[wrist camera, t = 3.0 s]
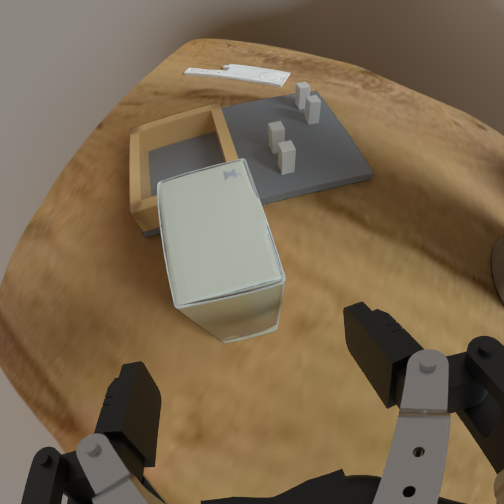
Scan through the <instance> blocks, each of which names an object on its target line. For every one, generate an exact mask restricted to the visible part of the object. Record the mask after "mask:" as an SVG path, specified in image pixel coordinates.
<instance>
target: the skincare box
mask: <svg viewBox="0 0 504 504" xmlns="http://www.w3.org/2000/svg"><path fill="white" fill-rule="evenodd" d="M157 200H158V215H159V224H160V231H161V239H162V246H163V253H164V259H165V264H166V270H167V275H168V279H169V285H170V289H171V294H172V298H173V303H174V306H175V308H176V309H178V310H179V311H180V312H182V313H183V314H184V315H186V316H187V317H188V318H190V319H191V320H192V321H194V322H195V323H197V324H198V325H199V326H201V327H202V328H203V329H205V330H206V331H208V332H209V333H210V334H212V335H213V336H215V337H216V338H217V339H219V340H220V341H222V342H223V343H229V342H234V341H239V340H243V339H247V338H251V337H256V336H259V335H263V334H266V333H270V332H273V331H276V330H277V328H278V322H279V316H280V310H281V304H282V297H283V291H284V285H285V274H284V271H283V268H282V265H281V261H280V258H279V255H278V252H277V249H276V246H275V243H274V240H273V236H272V233H271V231H270V228H269V224H268V221H267V218H266V215H265V213H264V210H263V207H262V204H261V201H260V198H259V196H258V193H257V190H256V187H255V184H254V182H253V179H252V176H251V173H250V171H249V168H248V165H247V162H246V160H245V159H243V158H242V159H237V160H233V161H230V162H225V163H221V164H217V165H213V166H209V167H206V168H202V169H198V170H194V171H191V172H188V173H184V174H181V175H178V176H175V177H172V178H169V179H166V180H163V181H160V182H158V184H157Z"/></svg>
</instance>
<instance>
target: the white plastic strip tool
mask: <svg viewBox="0 0 504 504" xmlns="http://www.w3.org/2000/svg"><path fill="white" fill-rule="evenodd" d="M223 69H225V70H208V69H207V70H205V69H197V68H190V67H189V68H188V69H187V70H186V71H185V72H184V75H191V76H204V77H214V78H223V79H232V80H239V81H246V82H253V83H259V84H265V85H271V86H276V87H282V85H283V84H284V82H285V81H286V80H287V78H288V77H289V75H290V74H291V73H289V72H283V71H278V70H272V69H266V68H259V67H252V66H244V65H236V64H229V65H225V66H223Z"/></svg>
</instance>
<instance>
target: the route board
mask: <svg viewBox="0 0 504 504" xmlns="http://www.w3.org/2000/svg"><path fill="white" fill-rule="evenodd" d="M242 158H243V159H245V160H246V162H247V165H248V168H249V171H250V173H251V176H252V179H253V182H254V184H255V187H256V190H257V193H258V196H259V198H260V201H261V204H262V205H264V204H268V203H272V202H276V201H280V200H284V199H288V198H292V197H296V196H300V195H304V194H308V193H313V192H317V191H321V190H325V189H330V188H334V187H338V186H343V185H347V184H352V183H356V182H361V181H366V180H370V179H371V177H372V175H373V172H372V170H371V169H370V167H369V165H368V164H367V162H366V161H365V159H364V157H363V156H362V154H361V153H360V151H359V150H358V148H357V147H356V145H355V143H354V142H353V140H352V139H351V138H350V136H349V135H348V133H347V132H346V130H345V129H344V127H343V126H342V124H341V123H340V122H339V120H338V119H337V117H336V116H335V115H334V113H333V112H332V111H331V109H330V108H329V107H328V105H327V104H326V103H325V101H324V100H323V99H322V97H321V96H320V95H319V93H318V92H317V91H312V92H310V86H309V85H308V84H307V82H301V83H296V94H291V95H284V96H278V97H272V98H267V99H261V100H256V101H251V102H246V103H241V104H237V105H232V106H228V107H223V108H221V107H220V104H219V103H215V104H211V105H207V106H204V107H200V108H196V109H192V110H189V111H185V112H182V113H178V114H175V115H172V116H168V117H165V118H162V119H159V120H156V121H153V122H150V123H147V124H144V125H141V126H138V127H135V128H133V129H130V214H131V215H132V217H133V218H134V219H135V220H136V222H137V223H138V224H139V226H140V227H141V232H142V234H143V235H144V236H145V237H149V236H153V235H156V234H159V233H161V231H160V224H159V215H158V200H157V184H158V182H160V181H163V180H166V179H169V178H172V177H175V176H178V175H181V174H184V173H188V172H191V171H194V170H198V169H202V168H206V167H209V166H213V165H217V164H221V163H225V162H230V161H233V160H237V159H242Z"/></svg>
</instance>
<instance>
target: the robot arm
mask: <svg viewBox="0 0 504 504" xmlns="http://www.w3.org/2000/svg"><path fill="white" fill-rule="evenodd" d="M492 273H493V278H494V282H495V285H496V288H497V291H498V293H499V295H500V298H501V300H502V301H503V303H504V236H503V237H502V238H501V239H500V240H499V241H498V242H497V243H496V245H495V247H494V250H493V254H492ZM343 315H344V326H345V339H346V344H347V347H348V349H349V352H350V353H351V355H352V356H353V358H354V359H355V361H356V362H357V364H358V365H359V367H360V368H361V370H362V371H363V373H364V374H365V376H366V377H367V379H368V380H369V382H370V383H371V385H372V386H373V388H374V389H375V391H376V392H377V394H378V396H379V397H380V399H381V400H382V402H383V403H384V405H385V406H386V408H387V409H388V408H390V407H392V406H394V405H397V406H398V407H399V409H400V411H399V415H398V419H397V424H396V428H395V432H394V436H393V440H392V444H391V448H390V452H389V455H388V459H387V462H386V465H385V469H384V472H383V475H382V478H381V477H377V476H371V475H350V476H345V474H344V472H343V470H342V469H341V470H338V471H335V472H332V473H329V474H326V475H323V476H320V477H317V478H314V479H310V480H307V481H305V482H304V483H302V484H300V485H298V486H296V487H294V488H292V489H290V490H288V491H286V492H284V493H282V494H279V495H277V496H275V497H271V498H252V497H230V498H222V499H214V500H205V501H201V504H465V503H461V502H457V501H453V500H449V499H445V498H442V497H439V494H440V489H441V484H442V479H443V474H444V468H445V462H446V455H447V448H448V440H449V430H450V413H453V412H456V413H457V415H458V416H459V417H460V419H461V420H462V422H463V423H464V425H465V426H466V427H467V429H468V430H469V432H470V433H471V435H472V436H473V438H474V439H475V441H476V442H477V444H478V445H479V447H480V448H481V450H482V451H483V453H484V454H485V456H486V457H487V459H488V460H489V462H490V463H491V465H492V467H493V468H494V470H495V471H496V473H497V477H496V479H495V482H494V495H495V498H496V500H497V503H496V504H504V346H503V345H502V344H501V343H500V342H499V341H498V340H496V339H495V338H492V337H489V336H479V337H476V338H474V339H473V340H472V341H471V342H470V343H469V345H468V348H467V352H463V353H459V354H455V355H451V356H445V355H444V354H442V353H441V352H439V351H436V350H431V349H426V350H424V349H423V348H422V347H421V346H420V345H419V344H418V343H417V342H416V340H415V339H414V338H413V337H412V336H411V335H410V334H409V333H408V332H407V331H406V330H405V329H404V328H403V329H402V326H401V325H400V324H399V323H398V322H397V323H396V320H395V319H393V318H392V317H391V316H390V315H389V314H388V313H386V312H383V311H381V310H379V309H376V310H374V311H371V309H370V308H369V307H368V306H367V305H366V304H365V303H364V302H359V303H356V304H353V305H350V306H347V307H345V308H344V310H343ZM105 398H106V399H104V402H103V407H102V408H101V412H100V415H99V418H98V422H97V425H96V429H95V432H94V434H91V435H88V436H86V437H85V438H84V439H83V440H81V442H80V443H79V445H78V447H77V451H73V452H70V453H66V454H62V455H61V454H60V453H59V452H58V451H57V450H56V449H55V448H53V447H45V448H42V449H41V450H39V451H38V452H37V453H36V455H35V456H34V458H33V461H32V464H31V468H30V472H29V475H28V478H27V482H26V486H25V490H24V494H23V498H22V502H21V504H61V501H62V496H63V494H64V495H66V496H67V497H68V501H67V504H169V503H168V502H167V501H166V500H165V499H164V498H163V496H162V495H161V494H160V493H159V492H158V491H157V489H156V488H155V487H154V486H153V485H152V483H151V482H150V481H149V480H148V478H147V477H146V476H145V475H144V474H143V472H144V467H155V459H156V447H157V437H158V427H159V418H160V410H161V395H160V391H159V389H158V387H157V385H156V384H155V382H154V380H153V379H152V377H151V375H150V373H149V372H148V370H147V368H146V367H145V365H144V363H143V362H141V361H139V362H134V363H128V364H124V365H123V366H122V369H121V372H120V375H119V378H115V379H114V381H113V382H112V383H111V384H110V386H109V387H108V390H107V393H106V396H105Z"/></svg>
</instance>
